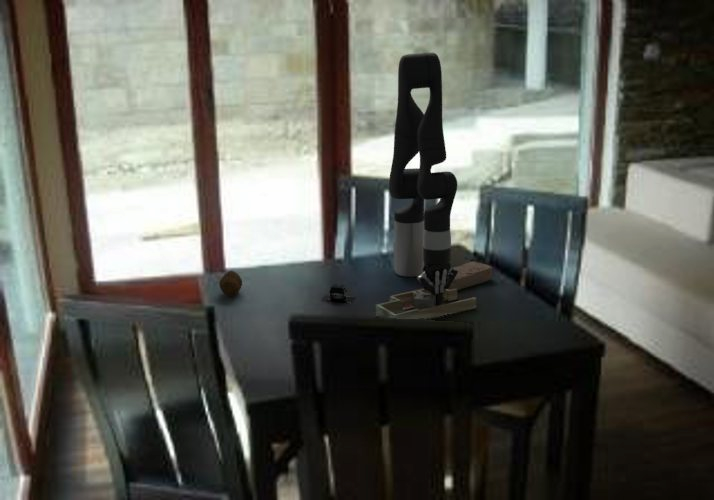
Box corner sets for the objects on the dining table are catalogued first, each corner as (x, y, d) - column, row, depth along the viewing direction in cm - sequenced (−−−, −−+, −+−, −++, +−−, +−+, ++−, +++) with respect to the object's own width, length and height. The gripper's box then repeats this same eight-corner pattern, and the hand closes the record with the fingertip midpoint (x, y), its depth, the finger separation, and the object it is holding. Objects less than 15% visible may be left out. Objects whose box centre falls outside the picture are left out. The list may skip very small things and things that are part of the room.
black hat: (362, 298, 241) (361, 283, 240) (355, 306, 234) (355, 291, 233) (321, 295, 244) (321, 280, 243) (314, 303, 238) (313, 288, 236)
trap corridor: (366, 311, 229) (366, 299, 228) (445, 293, 242) (445, 282, 241) (394, 327, 217) (394, 315, 216) (476, 308, 230) (476, 296, 229)
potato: (219, 301, 239) (218, 279, 237) (220, 289, 250) (218, 267, 248) (243, 300, 240) (241, 277, 238) (242, 287, 251) (241, 265, 249)
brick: (453, 292, 243) (453, 277, 242) (434, 285, 250) (434, 270, 248) (493, 280, 253) (493, 266, 251) (474, 274, 259) (474, 260, 258)
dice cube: (436, 311, 228) (436, 294, 227) (431, 317, 224) (431, 300, 222) (418, 309, 230) (418, 292, 228) (413, 315, 225) (413, 298, 224)
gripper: (448, 237, 230) (448, 296, 235) (409, 245, 223) (409, 305, 228) (465, 244, 223) (464, 304, 228) (424, 252, 217) (424, 313, 222)
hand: (436, 304), depth 228 cm, fingers closed
